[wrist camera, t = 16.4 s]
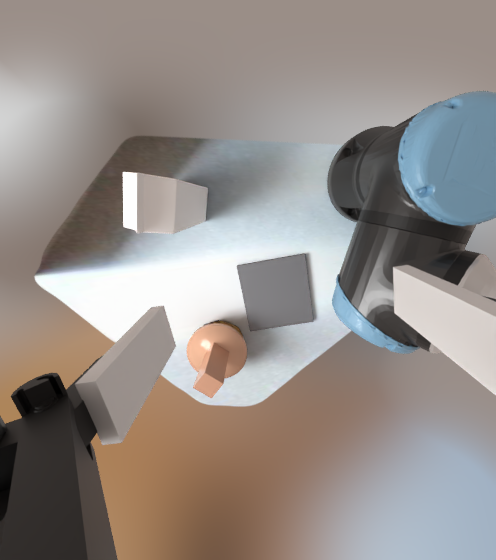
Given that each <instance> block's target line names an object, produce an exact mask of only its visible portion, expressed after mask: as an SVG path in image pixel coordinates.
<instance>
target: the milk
mask: <svg viewBox="0 0 496 560" xmlns="http://www.w3.org/2000/svg"><path fill="white" fill-rule="evenodd" d="M207 197H208V188H206V187H203V186H199V185H196V184H192V183H188V182H185V181H181V180H177V179H173V178H166V177H160V176H154V175H148V174H142V173H131V172H123V222H124V227H126V228H130V229H133V230H136V232H137V233H141V232H151V233H169V234H174V233H177V232H180V231H182V230H185V229H187V228H190V227H192V226H195V225H198V224H200V223H203V222H205V221H206V210H207Z"/></svg>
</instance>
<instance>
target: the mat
mask: <svg viewBox="0 0 496 560" xmlns="http://www.w3.org/2000/svg"><path fill="white" fill-rule="evenodd" d="M237 269H238V274H239V279H240V284H241V289H242V293H243V298H244V303H245V308H246V313H247V318H248V322H249V327H250V331H255V330H261V329H268V328H274V327H281V326H287V325H294V324H300V323H307V322H313V314H312V306H311V299H310V291H309V283H308V275H307V267H306V259H305V254H299V255H294V256H288V257H282V258H277V259H271V260H266V261H260V262H254V263H249V264H243V265H237Z"/></svg>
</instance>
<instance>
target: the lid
mask: <svg viewBox="0 0 496 560" xmlns="http://www.w3.org/2000/svg"><path fill="white" fill-rule="evenodd" d="M187 357H188V360H189V362H190V364H191V365H192V367H193V368H194V369H195V370H196V371H197V372H198V375H197V378H196V380H195V383H194V386H193V388H194V389H196V390H198V391H200V392H201V393H203V394H205V395H206V396H208V397H210V398H212V397H213V396H214V395H215V393H216V392H217V391H218V390H219V388H220V387H221V386H222V385H223V383H224V378H228V377H231V376H233V375H235V374H237V373H238V372H239V371H240V370H241V369H242V368H243V366H244V364H245V362H246V358H247V346H246V342H245V340H244V338H243V337H242V335H241V334H240V333H239V332H238V331H237V330H235V329H234V328H232V327H230V326H228V325H224V324H218V323H214V324H208V325H205V326H202V327H200V328H199V329H198V330H196V331H195V332H194V334H193V335H192V336H191V338H190V340H189V343H188V346H187Z"/></svg>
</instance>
